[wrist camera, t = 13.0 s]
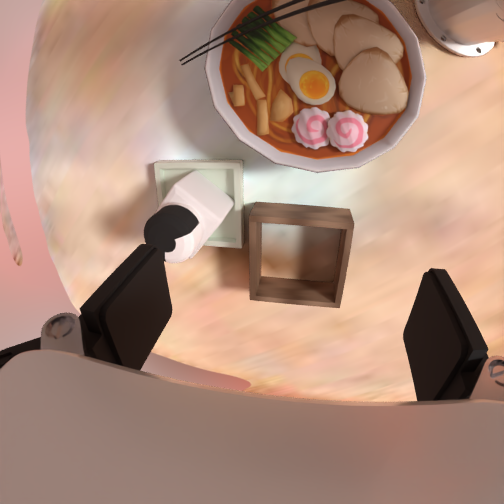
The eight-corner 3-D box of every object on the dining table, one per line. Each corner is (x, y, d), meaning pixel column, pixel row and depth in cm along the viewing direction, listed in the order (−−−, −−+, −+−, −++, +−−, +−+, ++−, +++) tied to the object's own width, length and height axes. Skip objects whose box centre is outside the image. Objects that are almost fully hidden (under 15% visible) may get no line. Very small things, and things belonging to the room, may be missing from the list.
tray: (243, 160, 39) (239, 163, 37) (244, 242, 45) (241, 248, 43) (159, 160, 41) (153, 163, 39) (168, 236, 46) (163, 242, 45)
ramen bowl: (260, 186, 40) (248, 208, 33) (188, 36, 32) (160, 25, 25) (436, 129, 32) (463, 138, 25) (366, -29, 23) (378, -54, 16)
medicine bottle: (169, 205, 43) (127, 243, 33) (195, 168, 40) (154, 196, 29) (207, 236, 44) (175, 282, 34) (236, 201, 41) (209, 240, 31)
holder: (349, 209, 39) (354, 223, 35) (337, 287, 45) (339, 308, 41) (256, 201, 41) (248, 215, 37) (255, 280, 47) (249, 299, 43)
